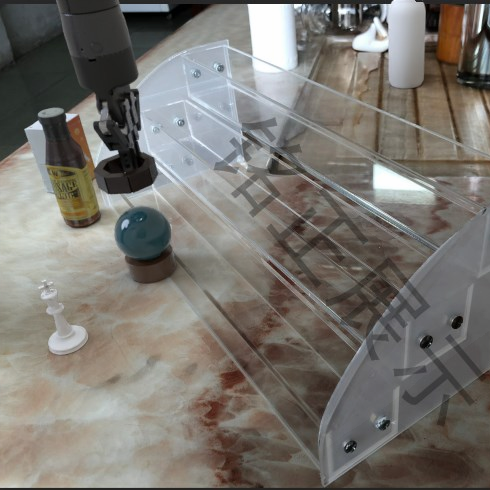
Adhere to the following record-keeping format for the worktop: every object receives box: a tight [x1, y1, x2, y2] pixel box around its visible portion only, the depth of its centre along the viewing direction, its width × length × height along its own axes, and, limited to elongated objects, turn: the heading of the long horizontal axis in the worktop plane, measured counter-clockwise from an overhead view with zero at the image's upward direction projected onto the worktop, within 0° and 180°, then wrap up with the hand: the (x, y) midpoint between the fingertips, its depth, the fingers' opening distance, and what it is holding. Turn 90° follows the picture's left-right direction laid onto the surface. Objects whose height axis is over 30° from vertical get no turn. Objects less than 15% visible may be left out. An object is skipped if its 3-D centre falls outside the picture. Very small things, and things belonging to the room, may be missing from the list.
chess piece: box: [37, 279, 89, 356], centre depth 75 cm, size 5×5×10 cm
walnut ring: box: [94, 151, 159, 195], centre depth 81 cm, size 8×8×2 cm
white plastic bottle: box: [387, 0, 427, 90], centre depth 142 cm, size 9×9×30 cm
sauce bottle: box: [37, 107, 101, 228], centre depth 99 cm, size 6×6×20 cm
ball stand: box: [113, 205, 177, 284], centre depth 87 cm, size 8×8×10 cm
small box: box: [24, 112, 96, 194], centre depth 112 cm, size 8×6×13 cm
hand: (134, 168), depth 84 cm, fingers closed on walnut ring, 1 cm apart
